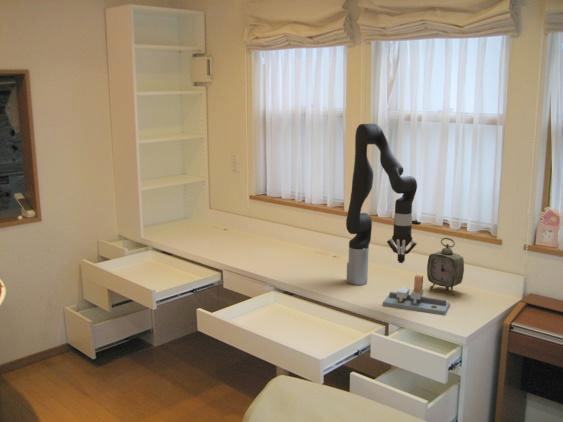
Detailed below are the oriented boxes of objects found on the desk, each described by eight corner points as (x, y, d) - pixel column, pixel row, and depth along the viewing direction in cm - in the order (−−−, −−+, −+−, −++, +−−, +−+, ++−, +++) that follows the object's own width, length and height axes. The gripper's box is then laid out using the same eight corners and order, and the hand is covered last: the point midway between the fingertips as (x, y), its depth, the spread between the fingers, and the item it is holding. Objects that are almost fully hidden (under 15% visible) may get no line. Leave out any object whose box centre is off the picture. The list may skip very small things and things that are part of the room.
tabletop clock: (425, 289, 286) (428, 236, 281) (436, 285, 292) (439, 233, 287) (453, 297, 276) (457, 242, 271) (464, 292, 282) (468, 239, 277)
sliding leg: (409, 302, 262) (411, 279, 260) (413, 297, 268) (415, 274, 266) (419, 304, 260) (420, 280, 258) (423, 298, 267) (424, 275, 265)
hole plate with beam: (382, 305, 264) (383, 292, 263) (389, 296, 275) (390, 284, 274) (444, 314, 254) (445, 301, 253) (449, 305, 265) (450, 292, 264)
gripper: (385, 223, 262) (383, 263, 266) (416, 226, 257) (414, 266, 260) (389, 220, 269) (388, 258, 272) (420, 222, 264) (418, 262, 267)
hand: (401, 262), depth 266 cm, fingers closed
